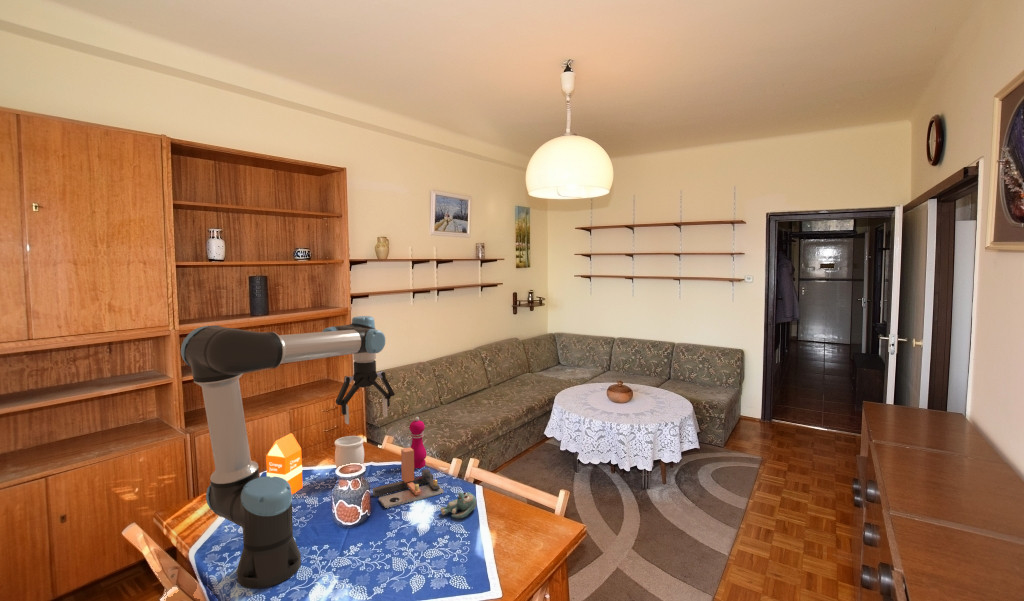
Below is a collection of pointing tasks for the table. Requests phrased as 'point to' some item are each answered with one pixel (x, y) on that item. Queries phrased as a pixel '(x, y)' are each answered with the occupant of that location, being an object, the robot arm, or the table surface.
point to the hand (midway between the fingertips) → (366, 419)
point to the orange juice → (286, 461)
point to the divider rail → (402, 485)
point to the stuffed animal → (461, 505)
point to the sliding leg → (409, 469)
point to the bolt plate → (409, 496)
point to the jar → (349, 450)
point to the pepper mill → (418, 443)
